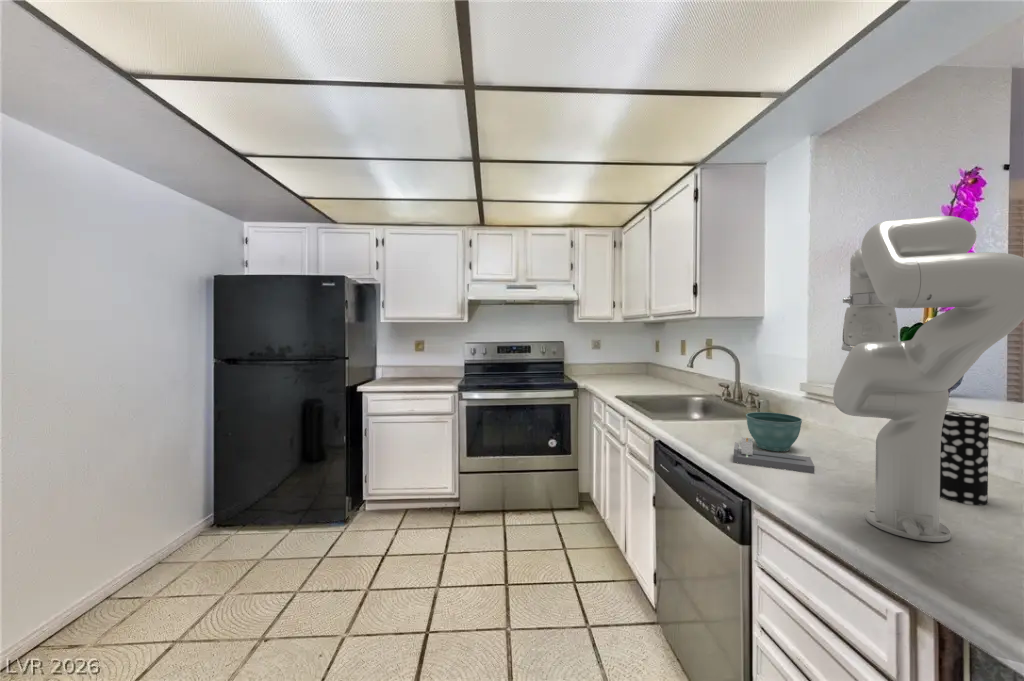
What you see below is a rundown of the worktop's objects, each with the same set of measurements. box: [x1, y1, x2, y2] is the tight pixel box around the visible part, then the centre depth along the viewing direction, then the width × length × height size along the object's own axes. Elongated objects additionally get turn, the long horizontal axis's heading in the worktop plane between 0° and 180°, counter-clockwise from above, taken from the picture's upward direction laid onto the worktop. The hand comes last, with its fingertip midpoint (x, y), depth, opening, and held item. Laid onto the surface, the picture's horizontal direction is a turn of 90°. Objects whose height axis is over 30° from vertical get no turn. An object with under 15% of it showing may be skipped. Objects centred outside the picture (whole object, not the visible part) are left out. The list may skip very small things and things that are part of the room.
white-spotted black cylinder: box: [940, 410, 990, 506], centre depth 99 cm, size 8×8×20 cm
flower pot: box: [745, 411, 803, 453], centre depth 141 cm, size 16×16×11 cm
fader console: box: [733, 442, 815, 474], centre depth 126 cm, size 10×20×4 cm, turn 60°
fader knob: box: [740, 437, 754, 455], centre depth 129 cm, size 5×3×4 cm, turn 150°
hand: (868, 374), depth 104 cm, fingers closed
